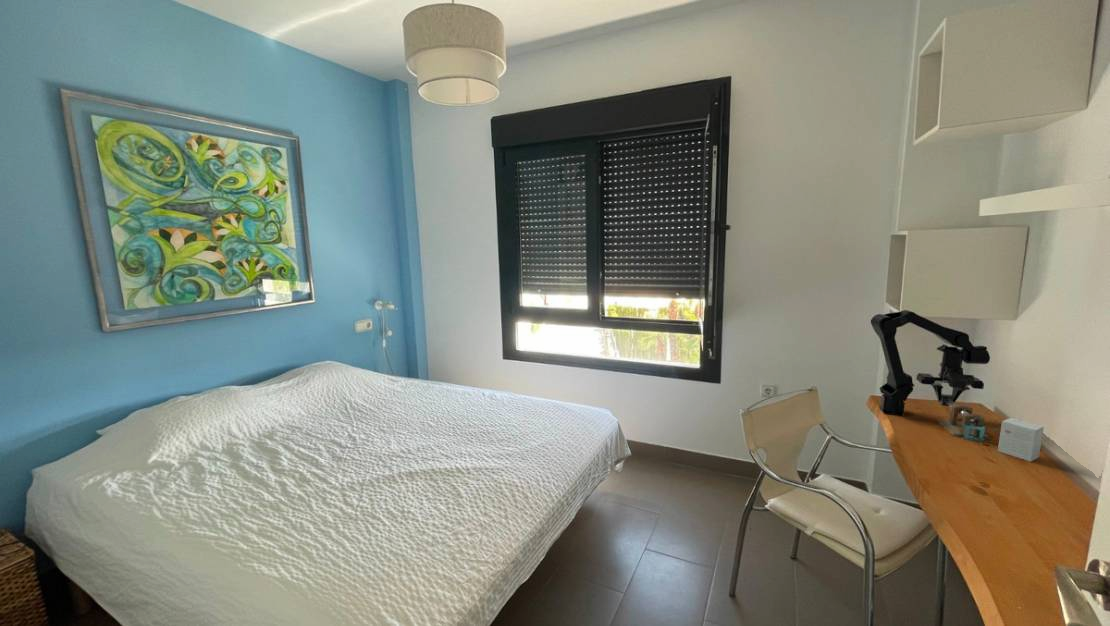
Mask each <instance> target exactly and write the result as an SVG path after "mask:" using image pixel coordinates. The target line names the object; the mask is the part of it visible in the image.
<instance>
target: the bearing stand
mask: <svg viewBox="0 0 1110 626" xmlns="http://www.w3.org/2000/svg"><path fill="white" fill-rule="evenodd" d="M959 409H963V410H965V411H966V412H967V413H963V416H962V418H961V420H958V417H959V413H958V412H959ZM973 411H974V410H973V407H972V406H971V405H963V404H961V405H960V404H957V405H953V404H952V407H951V412H950V419H943V418H937V420H938V421H937V423H939V422H940V423H939V425H941V424H942V425H943V426H944V427H943V426H942V425H941V426H942V427H943V429H945V430H946V429H947V430H946V431H947V432H948V431H949V432H948V433H949V434H950V433H951V434H952V435H953V437H959V436H960V437H961V438H963V431H964V425H965V424H969V425H978V426H984V422H985V416H984V415H982V414H979V413H978V414H977V413H973ZM970 418H975V419H976V420H977V422H976V423H974V424H972V423H970V422H969V421H970ZM978 432H979V430H977V429H970V430H969V436H976V437H978ZM951 434H950V435H951ZM952 435H951V436H952ZM983 440H985V441H990V440H991V437H990V436H989V435H988V434H987V433H985V432H984V438H983Z"/></svg>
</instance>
